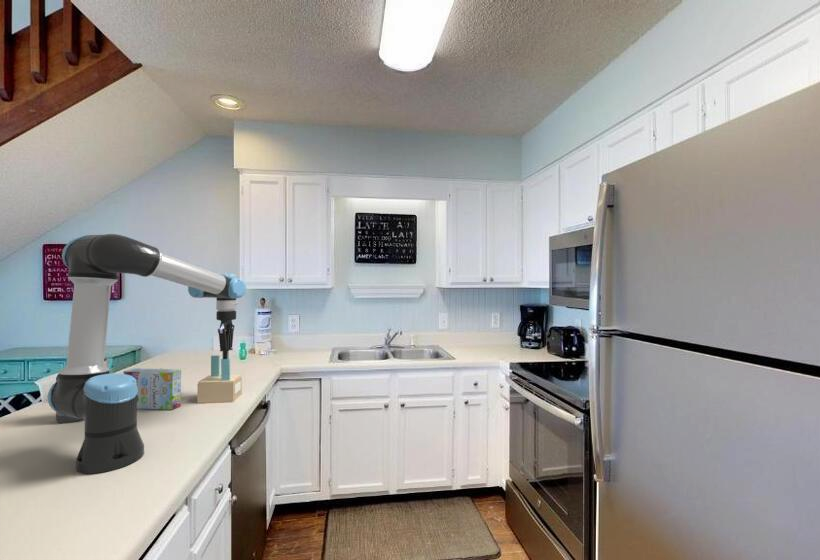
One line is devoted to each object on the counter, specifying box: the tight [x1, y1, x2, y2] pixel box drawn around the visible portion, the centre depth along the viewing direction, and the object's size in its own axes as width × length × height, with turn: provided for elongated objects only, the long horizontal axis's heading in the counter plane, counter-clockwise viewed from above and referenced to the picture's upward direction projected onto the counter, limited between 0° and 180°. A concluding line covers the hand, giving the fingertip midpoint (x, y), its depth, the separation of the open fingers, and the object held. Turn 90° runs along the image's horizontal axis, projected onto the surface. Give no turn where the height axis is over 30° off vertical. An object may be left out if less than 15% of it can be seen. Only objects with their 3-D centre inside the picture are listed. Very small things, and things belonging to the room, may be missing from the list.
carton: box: [197, 375, 243, 404], centre depth 162 cm, size 11×14×8 cm
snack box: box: [123, 367, 182, 411], centre depth 151 cm, size 21×6×15 cm, turn 84°
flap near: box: [197, 358, 237, 385], centre depth 159 cm, size 5×14×10 cm, turn 97°
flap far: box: [205, 354, 242, 379], centre depth 164 cm, size 5×14×10 cm, turn 97°
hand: (226, 366), depth 159 cm, fingers closed
